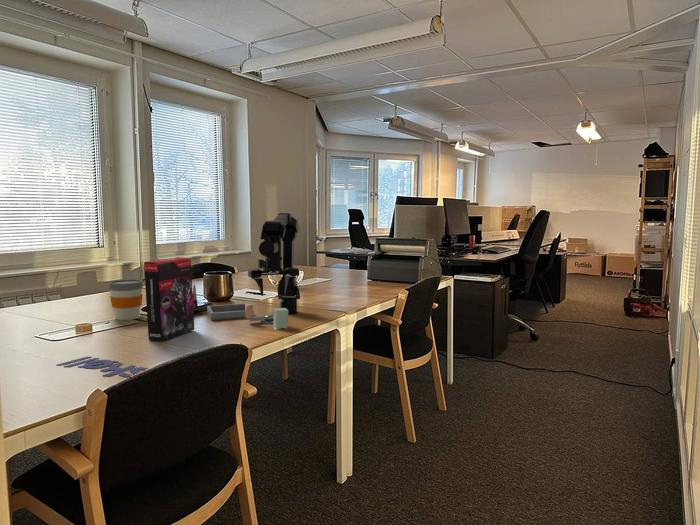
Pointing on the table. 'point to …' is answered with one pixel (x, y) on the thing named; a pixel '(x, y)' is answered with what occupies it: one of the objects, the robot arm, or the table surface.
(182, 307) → the graphics card box
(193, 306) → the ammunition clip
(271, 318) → the crank
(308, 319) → the table surface
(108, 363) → the signage
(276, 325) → the block
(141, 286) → the reusable coffee cup
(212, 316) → the tray
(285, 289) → the robot arm
